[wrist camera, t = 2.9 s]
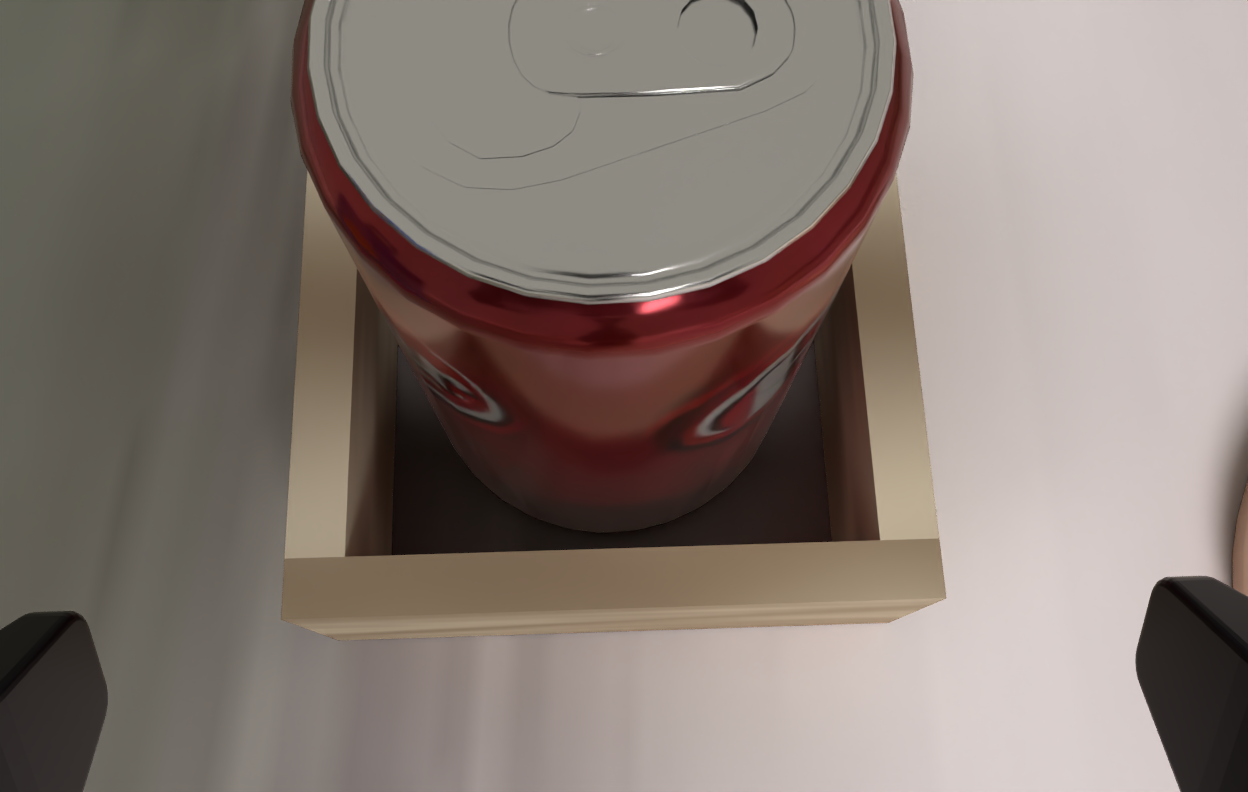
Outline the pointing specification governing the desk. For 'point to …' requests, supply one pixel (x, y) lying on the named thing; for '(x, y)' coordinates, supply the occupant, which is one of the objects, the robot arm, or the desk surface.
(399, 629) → the birch box
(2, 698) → the robot arm
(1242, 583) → the coaster
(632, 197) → the soda can
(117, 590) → the desk surface
